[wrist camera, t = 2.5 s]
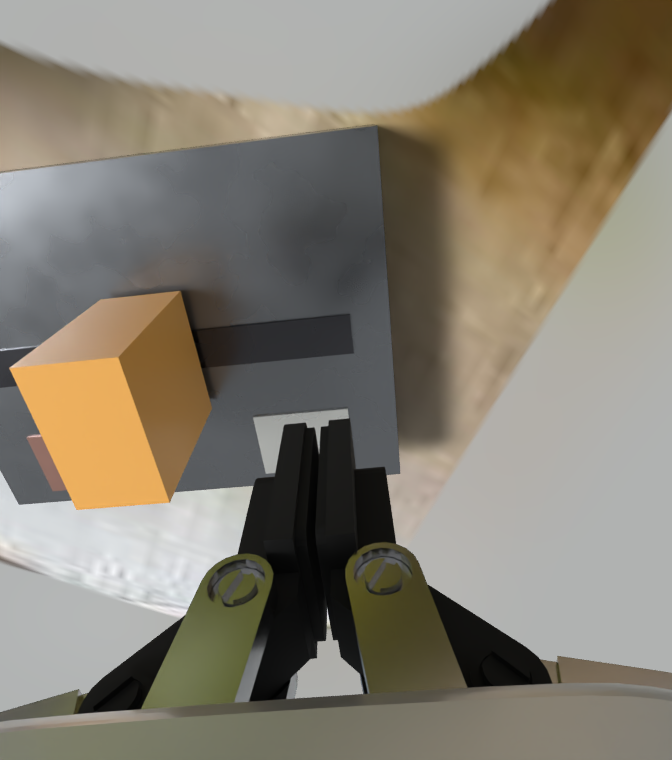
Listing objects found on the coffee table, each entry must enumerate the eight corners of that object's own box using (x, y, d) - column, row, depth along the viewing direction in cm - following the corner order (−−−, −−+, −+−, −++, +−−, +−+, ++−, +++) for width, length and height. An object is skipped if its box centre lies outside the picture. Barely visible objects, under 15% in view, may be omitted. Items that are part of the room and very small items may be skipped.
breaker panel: (372, 124, 18) (377, 125, 16) (394, 435, 25) (400, 475, 22) (-84, 182, 19) (-154, 192, 17) (52, 465, 26) (17, 506, 23)
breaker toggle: (180, 290, 18) (118, 357, 13) (211, 408, 20) (169, 502, 15) (100, 299, 18) (9, 368, 13) (141, 414, 20) (76, 509, 15)
